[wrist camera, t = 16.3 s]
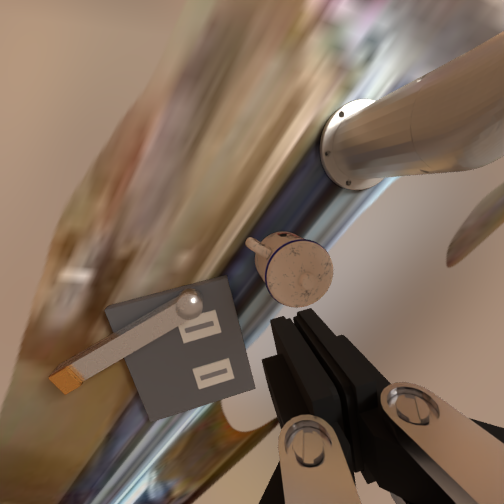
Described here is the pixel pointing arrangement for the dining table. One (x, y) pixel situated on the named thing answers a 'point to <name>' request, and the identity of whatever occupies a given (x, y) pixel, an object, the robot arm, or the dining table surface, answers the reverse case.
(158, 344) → the tray
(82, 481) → the dining table surface
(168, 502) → the dining table surface
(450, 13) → the dining table surface
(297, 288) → the teacup with lid
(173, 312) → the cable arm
